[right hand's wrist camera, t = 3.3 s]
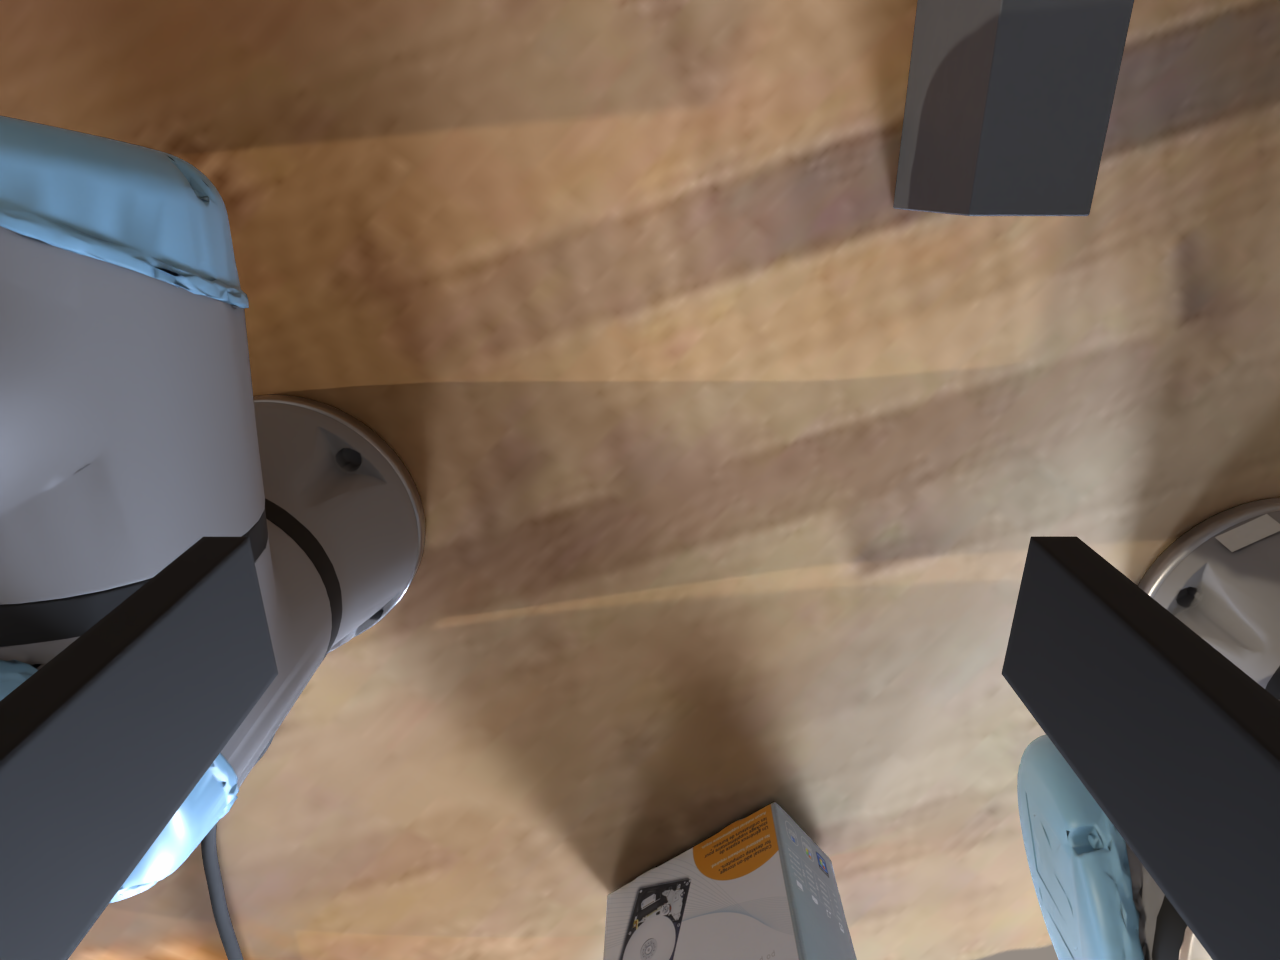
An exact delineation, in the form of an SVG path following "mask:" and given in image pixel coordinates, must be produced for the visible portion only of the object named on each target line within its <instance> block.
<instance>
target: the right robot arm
mask: <svg viewBox="0 0 1280 960" xmlns="http://www.w3.org/2000/svg"><path fill="white" fill-rule="evenodd" d="M244 308H249V304H248V298H247V295H246V294H245V293H244V292H243V291H242V290H241V288H240V282H239V277H238V272H237V267H236V262H235V257H234V251H233V245H232V239H231V232H230V226H229V220H228V215H227V211H226V207H225V204H224V202H223V200H222V197H221V196H220V194H219V192H218V191H217V189H216V187H215V186H214V185H213V184H212V183H211V181H210V180H209V179H208V178H207V177H206V176H205V175H204V174H203V173H202V172H200V171H199V170H198V169H197V168H195V167H194V166H193V165H191V164H190V163H188V162H186V161H184V160H182V159H180V158H178V157H176V156H173V155H171V154H168V153H165V152H161V151H158V150H154V149H150V148H146V147H142V146H139V145H134V144H130V143H126V142H121V141H117V140H113V139H109V138H104V137H100V136H95V135H90V134H86V133H81V132H77V131H72V130H67V129H63V128H58V127H53V126H48V125H44V124H39V123H34V122H29V121H24V120H19V119H15V118H10V117H5V116H0V960H68V958H69V957H70V956H71V954H72V953H73V951H74V950H75V949H76V947H77V946H78V945H79V943H80V942H81V941H82V939H83V938H84V937H85V935H86V934H87V932H88V931H89V930H90V928H91V927H92V926H93V924H94V923H95V922H96V920H97V919H98V918H99V916H100V915H101V913H102V912H103V911H104V909H105V908H106V907H107V905H108V904H109V903H112V902H116V901H120V900H123V899H126V898H128V897H131V896H134V895H136V894H138V893H141V892H143V891H145V890H147V889H149V888H150V887H152V886H153V885H155V884H156V883H157V882H158V881H159V880H162V879H164V878H165V877H166V876H168V875H170V874H171V873H173V872H174V871H175V870H176V869H177V868H178V867H179V866H180V865H181V864H182V863H183V862H184V861H185V860H186V859H187V858H188V857H189V855H190V854H191V853H192V852H193V851H194V849H195V848H196V847H197V846H198V845H199V843H200V842H201V848H202V858H203V864H204V870H205V875H206V880H207V884H208V889H209V894H210V900H211V905H212V909H213V914H214V917H215V921H216V925H217V928H218V931H219V934H220V937H221V940H222V943H223V946H224V949H225V952H226V955H227V958H228V960H243V957H242V954H241V951H240V948H239V944H238V942H237V939H236V936H235V933H234V929H233V926H232V923H231V920H230V916H229V912H228V908H227V904H226V900H225V894H224V889H223V883H222V878H221V873H220V868H219V863H218V857H217V849H216V827H217V822H218V820H219V819H221V818H222V817H223V816H224V815H225V814H226V813H227V812H228V811H229V810H230V808H231V807H232V805H233V803H234V801H235V800H236V799H237V796H236V794H237V793H238V792H239V787H240V786H241V784H242V783H243V781H244V780H245V778H246V777H247V775H248V773H249V772H250V770H251V769H252V767H253V766H254V765H255V764H256V763H257V762H258V761H259V760H260V758H261V757H262V756H263V754H264V753H265V752H266V750H267V749H268V747H269V745H270V744H271V741H272V739H273V737H274V734H275V732H276V731H277V729H278V728H279V726H280V725H281V723H282V722H283V720H284V718H285V717H286V715H287V714H288V712H289V711H290V709H291V708H292V706H293V705H294V703H295V702H296V700H297V699H298V697H299V696H300V694H301V692H302V691H303V689H304V688H305V686H306V685H307V683H308V682H309V680H310V679H311V677H312V676H313V674H314V673H315V671H316V670H317V668H318V667H319V665H320V664H321V662H322V661H323V659H324V658H325V656H326V655H327V653H329V652H331V651H332V650H334V649H336V648H338V647H339V646H341V645H343V644H344V643H346V642H348V641H349V640H351V639H352V638H353V637H355V636H357V635H359V634H361V633H362V632H364V631H366V630H367V629H369V628H370V627H372V626H373V625H375V624H376V623H377V622H379V621H380V620H381V619H382V618H383V617H384V616H385V615H386V614H387V613H388V612H389V611H390V610H391V609H392V608H393V607H394V606H395V605H396V604H397V603H398V602H399V600H400V599H401V598H402V596H403V595H404V593H405V592H406V590H407V589H408V587H409V585H410V583H411V582H412V580H413V578H414V576H415V574H416V572H417V570H418V568H419V565H420V563H421V559H422V555H423V551H424V545H425V531H426V530H425V517H424V512H423V507H422V503H421V499H420V496H419V493H418V491H417V488H416V486H415V483H414V482H413V480H412V478H411V476H410V474H409V472H408V470H407V469H406V467H405V466H404V464H403V462H402V461H401V460H400V459H399V457H398V456H397V455H396V453H395V452H394V451H393V450H392V449H391V448H390V447H389V445H388V444H387V443H386V442H385V441H384V440H383V439H381V438H380V437H379V436H378V435H377V434H376V433H375V432H374V431H372V430H371V429H370V428H368V427H367V426H366V425H365V424H363V423H361V422H360V421H358V420H357V419H355V418H354V417H352V416H350V415H348V414H346V413H344V412H343V411H341V410H338V409H336V408H334V407H331V406H329V405H327V404H324V403H321V402H317V401H314V400H310V399H306V398H302V397H295V396H288V395H258V396H253V390H252V380H251V370H250V360H249V351H248V341H247V331H246V321H245V311H244ZM1002 675H1003V676H1004V678H1005V679H1006V680H1007V682H1008V683H1009V684H1010V686H1011V687H1012V688H1013V690H1014V691H1015V692H1016V694H1017V695H1018V697H1019V698H1020V699H1021V701H1022V702H1023V703H1024V705H1025V706H1026V707H1027V709H1028V710H1029V711H1030V713H1031V714H1032V715H1033V717H1034V718H1035V720H1036V721H1037V722H1038V724H1039V725H1040V726H1041V728H1042V729H1043V730H1044V732H1045V733H1046V734H1047V736H1048V737H1049V739H1050V740H1051V741H1052V743H1053V744H1054V745H1055V747H1056V748H1057V749H1058V751H1059V752H1060V753H1061V755H1062V756H1063V758H1064V759H1065V760H1066V762H1067V763H1068V764H1069V766H1070V767H1071V768H1072V770H1073V771H1074V772H1075V774H1076V775H1077V777H1078V778H1079V779H1080V781H1081V782H1082V783H1083V785H1084V786H1085V787H1086V789H1087V790H1088V791H1089V793H1090V794H1091V796H1092V797H1093V798H1094V800H1095V801H1096V802H1097V804H1098V805H1099V806H1100V808H1101V809H1102V810H1103V812H1104V813H1105V814H1106V816H1107V817H1108V819H1109V820H1110V821H1111V823H1112V824H1113V825H1114V827H1115V828H1116V829H1117V831H1118V832H1119V833H1120V835H1121V836H1122V838H1123V839H1124V840H1125V842H1126V843H1127V844H1128V846H1129V847H1130V848H1131V850H1132V851H1133V852H1134V854H1135V855H1136V857H1137V858H1138V859H1139V861H1140V862H1141V863H1142V865H1143V866H1144V867H1145V869H1146V870H1147V871H1148V873H1149V874H1150V876H1151V877H1152V878H1153V880H1154V881H1155V882H1156V884H1157V885H1158V886H1159V888H1160V889H1161V890H1162V892H1163V893H1164V895H1165V896H1166V897H1167V899H1168V900H1169V901H1170V903H1171V904H1172V905H1173V907H1174V908H1175V909H1176V911H1177V912H1178V913H1179V915H1180V916H1181V918H1182V919H1183V920H1184V922H1185V923H1186V924H1187V926H1188V927H1189V928H1190V930H1191V931H1192V932H1193V934H1194V935H1195V937H1196V938H1197V939H1198V941H1199V942H1200V943H1201V945H1202V946H1203V947H1204V949H1205V950H1206V951H1207V953H1208V954H1209V956H1210V957H1211V958H1212V960H1280V700H1278V699H1276V698H1275V697H1274V696H1273V695H1272V694H1270V693H1269V692H1268V691H1267V690H1265V689H1264V688H1263V687H1262V686H1260V685H1259V684H1258V683H1257V682H1255V681H1254V680H1253V679H1252V678H1251V677H1249V676H1248V675H1247V674H1246V673H1244V672H1243V671H1242V670H1241V669H1239V668H1238V667H1237V666H1236V665H1234V664H1233V663H1232V662H1231V661H1230V660H1228V659H1227V658H1226V657H1225V656H1223V655H1222V654H1221V653H1220V652H1218V651H1217V650H1216V649H1215V648H1213V647H1212V646H1211V645H1210V644H1209V643H1207V642H1206V641H1205V640H1204V639H1202V638H1201V637H1200V636H1199V635H1197V634H1196V633H1195V632H1194V631H1192V630H1191V629H1190V628H1189V627H1188V626H1186V625H1185V624H1184V623H1183V622H1181V621H1180V620H1179V619H1178V618H1176V617H1175V616H1174V615H1173V614H1171V613H1170V612H1169V611H1168V610H1167V609H1165V608H1164V607H1163V606H1162V605H1160V604H1159V603H1158V602H1157V601H1155V600H1154V599H1153V598H1152V597H1150V596H1149V595H1148V594H1147V593H1146V592H1144V591H1143V590H1142V589H1141V588H1139V587H1138V586H1137V585H1136V584H1134V583H1133V582H1132V581H1131V580H1129V579H1128V578H1127V577H1126V576H1125V575H1123V574H1122V573H1121V572H1120V571H1118V570H1117V569H1116V568H1115V567H1113V566H1112V565H1111V564H1110V563H1108V562H1107V561H1106V560H1105V559H1104V558H1102V557H1101V556H1100V555H1099V554H1097V553H1096V552H1095V551H1094V550H1092V549H1091V548H1090V547H1089V546H1088V545H1086V544H1085V543H1084V542H1083V541H1081V540H1080V539H1079V538H1078V537H1031V539H1030V544H1029V549H1028V553H1027V558H1026V563H1025V567H1024V572H1023V577H1022V581H1021V586H1020V591H1019V595H1018V600H1017V605H1016V609H1015V614H1014V619H1013V623H1012V628H1011V633H1010V637H1009V642H1008V647H1007V651H1006V656H1005V661H1004V665H1003V670H1002Z"/></svg>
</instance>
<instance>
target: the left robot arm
mask: <svg viewBox="0 0 1280 960" xmlns="http://www.w3.org/2000/svg"><path fill="white" fill-rule="evenodd" d="M1138 587H1139V588H1141V589H1142V590H1143V591H1144V592H1146V593H1147V594H1148V595H1149V596H1150V597H1152V598H1153V599H1154V600H1155V601H1157V602H1158V603H1159V604H1160V605H1162V606H1163V607H1164V608H1165V609H1167V610H1168V611H1169V612H1170V613H1171V614H1173V615H1174V616H1175V617H1176V618H1178V619H1179V620H1180V621H1181V622H1183V623H1184V624H1185V625H1186V626H1188V627H1189V628H1190V629H1191V630H1192V631H1194V632H1195V633H1196V634H1197V635H1199V636H1200V637H1201V638H1202V639H1204V640H1205V641H1206V642H1207V643H1209V644H1210V645H1211V646H1212V647H1213V648H1215V649H1216V650H1217V651H1218V652H1220V653H1221V654H1222V655H1223V656H1225V657H1226V658H1227V659H1228V660H1230V661H1231V662H1232V663H1233V664H1234V665H1236V666H1237V667H1238V668H1239V669H1241V670H1242V671H1243V672H1244V673H1246V674H1247V675H1248V676H1249V677H1251V678H1252V679H1253V680H1254V681H1255V682H1257V683H1258V684H1259V685H1260V686H1262V687H1263V688H1264V689H1265V690H1267V691H1268V692H1269V693H1270V694H1272V695H1273V696H1274V697H1275V698H1276V699H1278V700H1280V498H1271V499H1264V500H1258V501H1254V502H1250V503H1246V504H1243V505H1240V506H1236V507H1233V508H1231V509H1228V510H1226V511H1223V512H1221V513H1219V514H1217V515H1215V516H1213V517H1211V518H1209V519H1207V520H1205V521H1203V522H1202V523H1200V524H1198V525H1196V526H1195V527H1193V528H1192V529H1190V530H1189V531H1188V532H1186V533H1185V534H1183V535H1182V536H1181V537H1180V538H1178V539H1177V540H1176V541H1175V542H1173V543H1172V544H1171V545H1170V546H1169V547H1168V548H1167V549H1166V550H1165V551H1164V552H1163V553H1162V554H1161V555H1160V556H1159V557H1158V558H1157V559H1156V560H1155V562H1154V563H1153V564H1152V565H1151V567H1150V568H1149V569H1148V570H1147V572H1146V573H1145V575H1144V577H1143V578H1142V580H1141V581H1140V583H1139V585H1138ZM1017 789H1018V806H1019V814H1020V822H1021V828H1022V834H1023V840H1024V845H1025V850H1026V854H1027V859H1028V863H1029V868H1030V872H1031V876H1032V880H1033V883H1034V887H1035V891H1036V894H1037V898H1038V901H1039V905H1040V908H1041V911H1042V914H1043V917H1044V920H1045V924H1046V927H1047V930H1048V932H1049V935H1050V938H1051V941H1052V944H1053V946H1054V949H1055V951H1056V954H1057V957H1058V959H1059V960H1212V958H1211V957H1210V956H1209V954H1208V953H1207V951H1206V950H1205V949H1204V947H1203V946H1202V945H1201V943H1200V942H1199V941H1198V939H1197V938H1196V937H1195V935H1194V934H1193V932H1192V931H1191V930H1190V928H1189V927H1188V926H1187V924H1186V923H1185V922H1184V920H1183V919H1182V918H1181V916H1180V915H1179V913H1178V912H1177V911H1176V909H1175V908H1174V907H1173V905H1172V904H1171V903H1170V901H1169V900H1168V899H1167V897H1166V896H1165V895H1164V893H1163V892H1162V890H1161V889H1160V888H1159V886H1158V885H1157V884H1156V882H1155V881H1154V880H1153V878H1152V877H1151V876H1150V874H1149V873H1148V871H1147V870H1146V869H1145V867H1144V866H1143V865H1142V863H1141V862H1140V861H1139V859H1138V858H1137V857H1136V855H1135V854H1134V852H1133V851H1132V850H1131V848H1130V847H1129V846H1128V844H1127V843H1126V842H1125V840H1124V839H1123V838H1122V836H1121V835H1120V833H1119V832H1118V831H1117V829H1116V828H1115V827H1114V825H1113V824H1112V823H1111V821H1110V820H1109V819H1108V817H1107V816H1106V814H1105V813H1104V812H1103V810H1102V809H1101V808H1100V806H1099V805H1098V804H1097V802H1096V801H1095V800H1094V798H1093V797H1092V796H1091V794H1090V793H1089V791H1088V790H1087V789H1086V787H1085V786H1084V785H1083V783H1082V782H1081V781H1080V779H1079V778H1078V777H1077V775H1076V774H1075V772H1074V771H1073V770H1072V768H1071V767H1070V766H1069V764H1068V763H1067V762H1066V760H1065V759H1064V758H1063V756H1062V755H1061V753H1060V752H1059V751H1058V749H1057V748H1056V747H1055V745H1054V744H1053V743H1052V741H1051V740H1050V739H1049V737H1048V736H1047V734H1046V735H1043V736H1040V737H1038V738H1037V739H1035V740H1034V741H1032V742H1031V743H1030V744H1029V745H1028V746H1027V748H1026V749H1025V751H1024V753H1023V756H1022V758H1021V763H1020V765H1019V770H1018V784H1017Z"/></svg>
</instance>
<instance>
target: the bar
mask: <svg viewBox="0 0 1280 960" xmlns="http://www.w3.org/2000/svg"><path fill="white" fill-rule="evenodd" d="M1133 3H1134V0H918V2H917V11H916V19H915V28H914V36H913V45H912V53H911V62H910V70H909V79H908V87H907V96H906V104H905V113H904V121H903V130H902V138H901V147H900V155H899V164H898V172H897V181H896V189H895V198H894V206H893V207H894V208H895V209H905V210H915V211H925V212H935V213H945V214H955V215H965V216H1088V215H1089V213H1090V208H1091V203H1092V199H1093V194H1094V189H1095V184H1096V180H1097V175H1098V170H1099V165H1100V160H1101V156H1102V151H1103V146H1104V141H1105V137H1106V132H1107V127H1108V122H1109V118H1110V113H1111V108H1112V103H1113V98H1114V94H1115V89H1116V84H1117V79H1118V75H1119V70H1120V65H1121V60H1122V55H1123V51H1124V46H1125V41H1126V36H1127V32H1128V27H1129V22H1130V17H1131V12H1132V8H1133Z"/></svg>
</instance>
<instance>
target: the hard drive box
mask: <svg viewBox="0 0 1280 960" xmlns="http://www.w3.org/2000/svg"><path fill="white" fill-rule="evenodd" d="M603 960H857V959H856V955H855V952H854V948H853V944H852V940H851V936H850V933H849V929H848V926H847V922H846V918H845V915H844V910H843V906H842V903H841V898H840V894H839V891H838V887H837V883H836V879H835V875H834V870H833V867H832V862H831V860H830V859H829V858H828V856H827V855H826V854H825V853H824V852H823V851H822V850H821V849H820V848H819V847H818V846H817V845H816V843H815V842H814V841H812V839H811V838H810V837H809V836H808V835H807V834H806V833H805V832H804V831H803V830H802V829H801V828H800V827H799V826H798V825H797V824H796V823H795V822H794V820H793V819H792V818H791V817H790V816H789V815H788V814H787V813H786V812H785V811H784V810H783V809H782V808H781V807H780V806H779V805H778V804H777V803H776V802H773V803H771V804H769V805H768V806H766V807H764V808H762V809H760V810H759V811H757V812H755V813H753V814H751V815H750V816H748V817H746V818H743V819H740V820H737V821H735V822H734V823H732V824H730V825H729V826H727V827H725V828H724V829H723V830H721V831H720V832H719V833H717V834H715V835H714V836H712V837H710V838H709V839H707V840H705V841H703V842H701V843H699V844H698V845H696V846H694V847H692V848H691V849H689V850H687V851H685V852H684V853H682V854H680V855H678V856H676V857H675V858H673V859H671V860H669V861H667V862H666V863H664V864H662V865H660V866H658V867H655V868H652V869H651V870H649V871H647V872H645V873H643V874H642V875H640V876H639V877H637V878H636V879H635V880H633V881H632V882H630V883H628V884H626V885H624V886H623V887H621V888H619V889H618V890H616V891H614V892H612V893H611V894H609V895H608V896H607V911H606V927H605V943H604V959H603Z"/></svg>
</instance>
